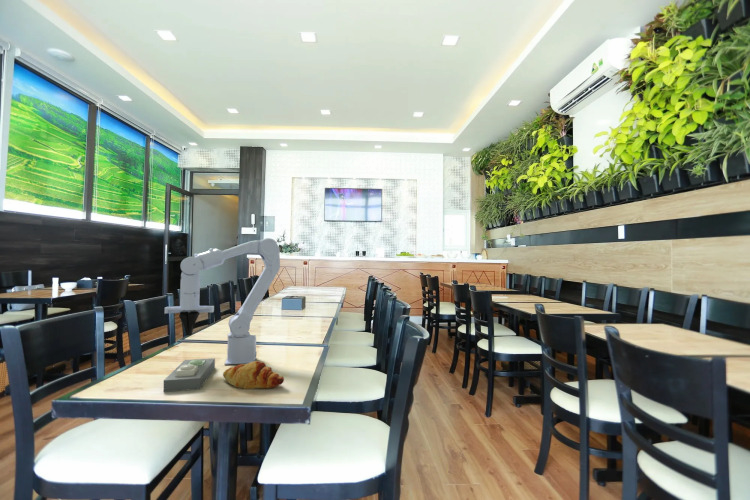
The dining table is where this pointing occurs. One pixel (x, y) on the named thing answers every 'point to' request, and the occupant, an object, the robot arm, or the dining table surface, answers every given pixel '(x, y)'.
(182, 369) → the button
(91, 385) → the dining table surface
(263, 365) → the croissant
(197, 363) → the button
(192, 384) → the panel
